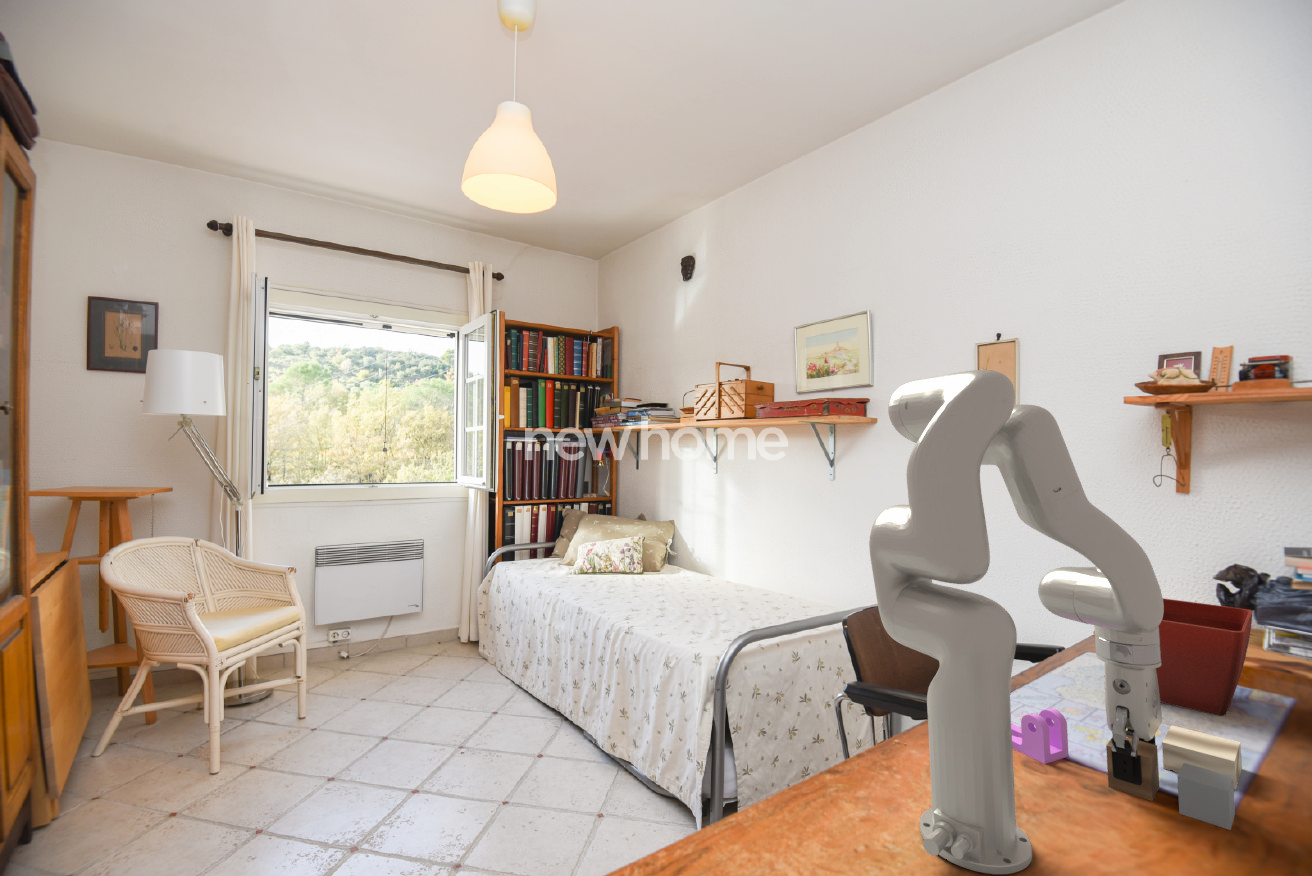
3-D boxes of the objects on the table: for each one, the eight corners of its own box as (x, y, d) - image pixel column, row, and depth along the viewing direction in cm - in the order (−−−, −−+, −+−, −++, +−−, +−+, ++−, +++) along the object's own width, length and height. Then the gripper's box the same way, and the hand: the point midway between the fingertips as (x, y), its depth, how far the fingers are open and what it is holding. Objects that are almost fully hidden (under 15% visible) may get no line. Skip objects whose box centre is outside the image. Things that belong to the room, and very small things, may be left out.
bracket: (1068, 757, 96) (1066, 713, 96) (1044, 765, 94) (1042, 720, 94) (996, 724, 108) (994, 685, 108) (973, 730, 106) (971, 690, 106)
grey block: (1230, 830, 77) (1228, 791, 77) (1179, 814, 80) (1177, 776, 81) (1235, 814, 80) (1232, 776, 80) (1185, 798, 84) (1183, 762, 84)
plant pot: (1249, 730, 102) (1243, 631, 103) (1111, 698, 117) (1107, 611, 117) (1258, 697, 115) (1253, 609, 115) (1133, 672, 129) (1129, 594, 130)
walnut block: (1152, 801, 83) (1150, 757, 83) (1108, 787, 87) (1106, 745, 87) (1159, 787, 87) (1157, 745, 87) (1116, 774, 90) (1114, 734, 91)
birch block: (1236, 789, 85) (1234, 761, 85) (1163, 768, 91) (1162, 742, 91) (1242, 768, 90) (1240, 742, 91) (1172, 750, 97) (1171, 725, 97)
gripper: (1147, 673, 79) (1156, 803, 79) (1171, 640, 90) (1179, 754, 90) (1080, 660, 85) (1088, 781, 84) (1110, 630, 96) (1117, 737, 96)
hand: (1135, 767), depth 87 cm, fingers open, 9 cm apart
